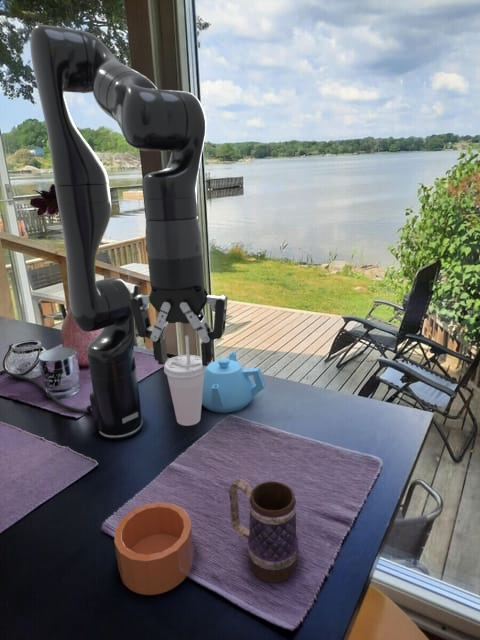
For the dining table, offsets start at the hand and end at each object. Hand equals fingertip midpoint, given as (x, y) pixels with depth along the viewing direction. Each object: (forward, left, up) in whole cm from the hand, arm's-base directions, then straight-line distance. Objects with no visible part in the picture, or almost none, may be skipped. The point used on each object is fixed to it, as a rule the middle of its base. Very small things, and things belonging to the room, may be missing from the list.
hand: (184, 362), depth 66 cm
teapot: (-2, +35, -26) cm, 43 cm away
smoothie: (0, 0, -10) cm, 10 cm away
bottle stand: (-2, -12, -26) cm, 29 cm away
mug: (+13, -9, -26) cm, 30 cm away
